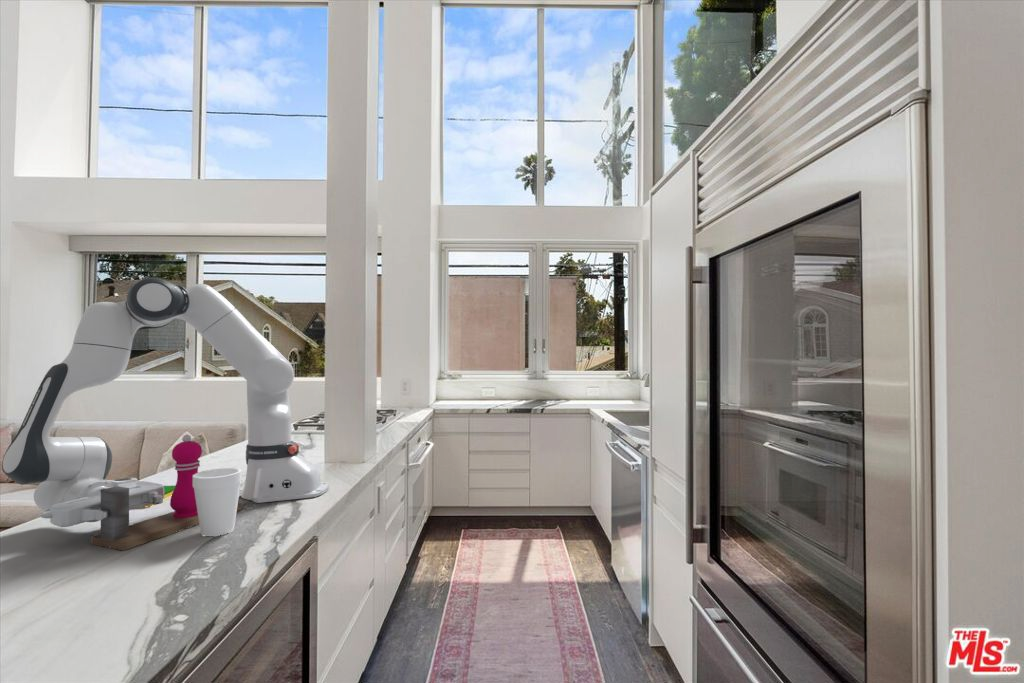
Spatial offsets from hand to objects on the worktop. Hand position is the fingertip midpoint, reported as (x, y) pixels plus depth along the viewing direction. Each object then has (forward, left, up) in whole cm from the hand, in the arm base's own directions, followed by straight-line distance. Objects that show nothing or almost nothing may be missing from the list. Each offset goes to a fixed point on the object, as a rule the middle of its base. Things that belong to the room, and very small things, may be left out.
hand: (133, 507), depth 108 cm
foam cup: (-16, -2, -7) cm, 17 cm away
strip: (-4, -9, -7) cm, 12 cm away
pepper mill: (-6, -12, -7) cm, 15 cm away
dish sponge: (+12, -32, -8) cm, 36 cm away
